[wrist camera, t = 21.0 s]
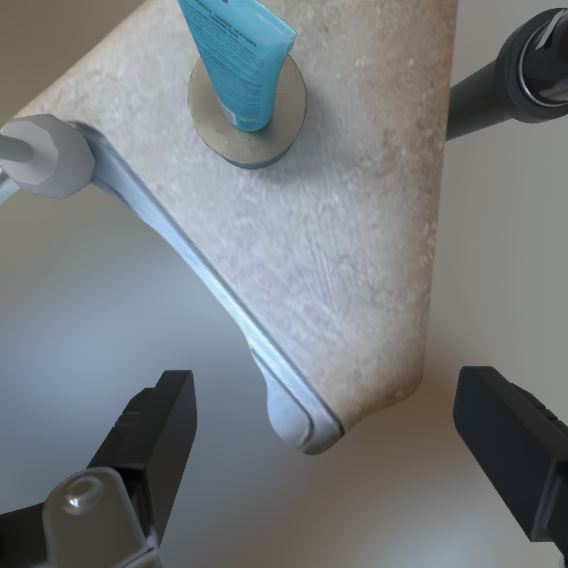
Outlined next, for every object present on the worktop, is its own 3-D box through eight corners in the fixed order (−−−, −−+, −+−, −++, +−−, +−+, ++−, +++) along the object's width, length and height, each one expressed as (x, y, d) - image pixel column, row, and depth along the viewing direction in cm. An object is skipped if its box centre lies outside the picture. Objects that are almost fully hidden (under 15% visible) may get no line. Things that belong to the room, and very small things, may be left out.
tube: (293, 100, 34) (324, -25, 15) (270, 147, 35) (273, 83, 16) (223, 59, 33) (165, -128, 14) (201, 109, 34) (120, -7, 15)
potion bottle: (118, 175, 42) (13, 155, 25) (57, 212, 43) (-88, 217, 26) (73, 105, 41) (-74, 31, 23) (10, 145, 41) (-181, 101, 24)
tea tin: (300, 68, 41) (308, 36, 33) (298, 171, 43) (304, 164, 36) (200, 64, 40) (184, 31, 32) (204, 169, 43) (190, 161, 35)
